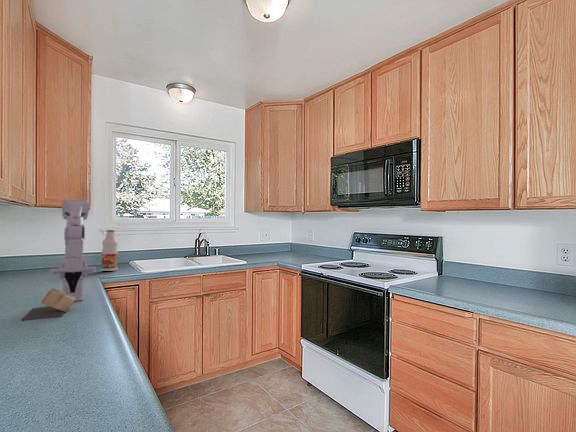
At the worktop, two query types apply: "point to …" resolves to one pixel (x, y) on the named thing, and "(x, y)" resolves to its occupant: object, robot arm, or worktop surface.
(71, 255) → the robot arm
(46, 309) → the rubber mat
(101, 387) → the worktop surface
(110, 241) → the fruit juice
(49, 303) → the maple block
